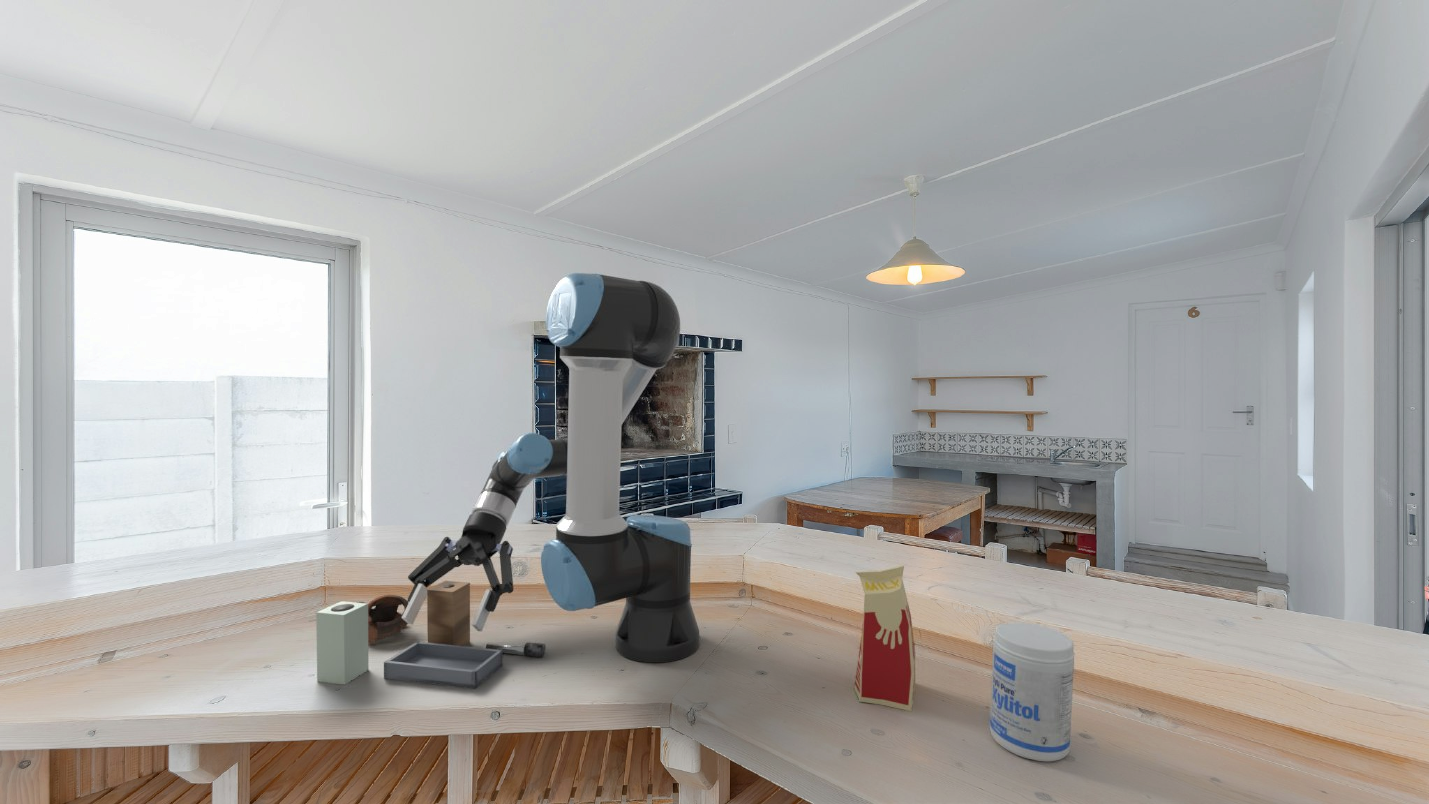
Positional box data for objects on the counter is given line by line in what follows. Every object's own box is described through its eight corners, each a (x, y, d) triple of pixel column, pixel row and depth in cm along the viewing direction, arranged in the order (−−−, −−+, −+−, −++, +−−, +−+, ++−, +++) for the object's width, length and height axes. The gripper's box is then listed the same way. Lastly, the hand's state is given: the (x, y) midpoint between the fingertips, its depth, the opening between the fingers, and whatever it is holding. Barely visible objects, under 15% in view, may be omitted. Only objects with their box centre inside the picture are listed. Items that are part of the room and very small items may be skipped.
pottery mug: (422, 624, 120) (423, 595, 117) (396, 665, 112) (397, 635, 108) (361, 610, 120) (360, 580, 116) (330, 649, 111) (329, 619, 107)
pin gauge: (545, 653, 107) (545, 641, 107) (539, 659, 105) (539, 646, 105) (490, 648, 109) (490, 636, 109) (483, 653, 107) (483, 641, 107)
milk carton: (915, 683, 98) (917, 559, 97) (914, 712, 89) (917, 576, 88) (857, 673, 101) (859, 553, 100) (850, 701, 92) (852, 569, 91)
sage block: (368, 669, 100) (367, 603, 100) (344, 684, 95) (343, 614, 95) (342, 667, 101) (341, 601, 101) (317, 681, 96) (316, 612, 96)
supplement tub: (980, 744, 81) (983, 635, 81) (1000, 715, 88) (1003, 614, 88) (1062, 775, 75) (1066, 657, 74) (1077, 741, 82) (1081, 633, 82)
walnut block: (470, 642, 111) (469, 582, 111) (453, 654, 106) (453, 591, 106) (445, 640, 112) (445, 580, 112) (427, 651, 107) (427, 589, 107)
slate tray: (502, 665, 102) (502, 650, 102) (474, 688, 94) (474, 672, 94) (417, 656, 105) (417, 641, 105) (383, 678, 98) (383, 662, 97)
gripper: (553, 534, 122) (514, 639, 107) (441, 527, 126) (389, 627, 112) (540, 513, 116) (498, 621, 102) (424, 506, 121) (367, 609, 107)
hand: (441, 624), depth 107 cm, fingers open, 13 cm apart
